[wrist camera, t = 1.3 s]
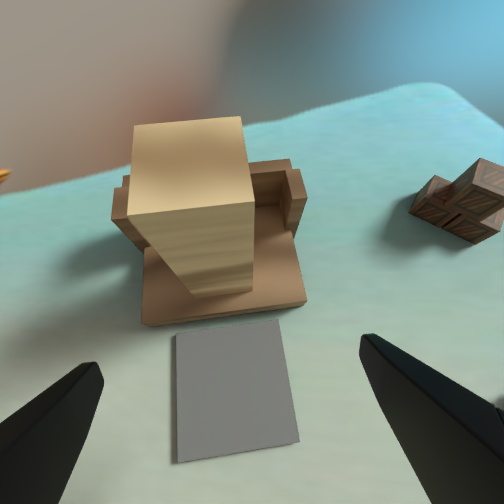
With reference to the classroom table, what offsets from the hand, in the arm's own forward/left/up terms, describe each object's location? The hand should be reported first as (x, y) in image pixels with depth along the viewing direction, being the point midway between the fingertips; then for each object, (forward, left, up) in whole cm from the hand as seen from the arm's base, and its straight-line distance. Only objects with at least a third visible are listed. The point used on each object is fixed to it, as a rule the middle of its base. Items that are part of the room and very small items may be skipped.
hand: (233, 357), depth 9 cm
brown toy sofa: (+4, +9, -14) cm, 17 cm away
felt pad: (-2, -1, -14) cm, 14 cm away
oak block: (+3, +8, -12) cm, 14 cm away
